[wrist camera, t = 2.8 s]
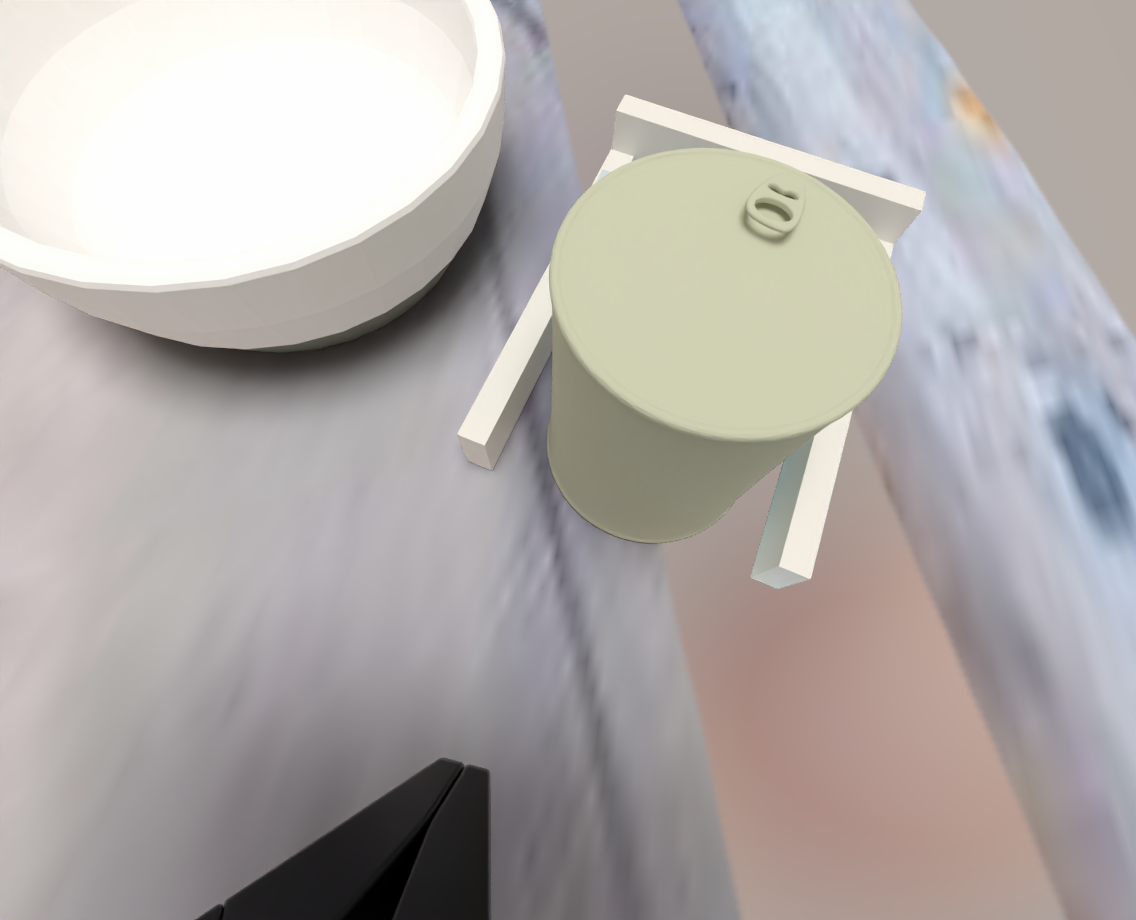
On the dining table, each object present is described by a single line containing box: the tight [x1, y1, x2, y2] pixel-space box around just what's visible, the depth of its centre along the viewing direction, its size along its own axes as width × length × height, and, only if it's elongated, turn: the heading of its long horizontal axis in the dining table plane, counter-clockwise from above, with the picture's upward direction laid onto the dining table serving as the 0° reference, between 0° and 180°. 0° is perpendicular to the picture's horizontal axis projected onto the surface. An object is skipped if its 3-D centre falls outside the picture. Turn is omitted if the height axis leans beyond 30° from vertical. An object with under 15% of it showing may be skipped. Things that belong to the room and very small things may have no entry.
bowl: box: [0, 0, 506, 353], centre depth 24 cm, size 22×22×8 cm
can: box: [547, 148, 902, 543], centre depth 19 cm, size 9×9×12 cm
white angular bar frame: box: [457, 94, 926, 589], centre depth 24 cm, size 18×14×5 cm
